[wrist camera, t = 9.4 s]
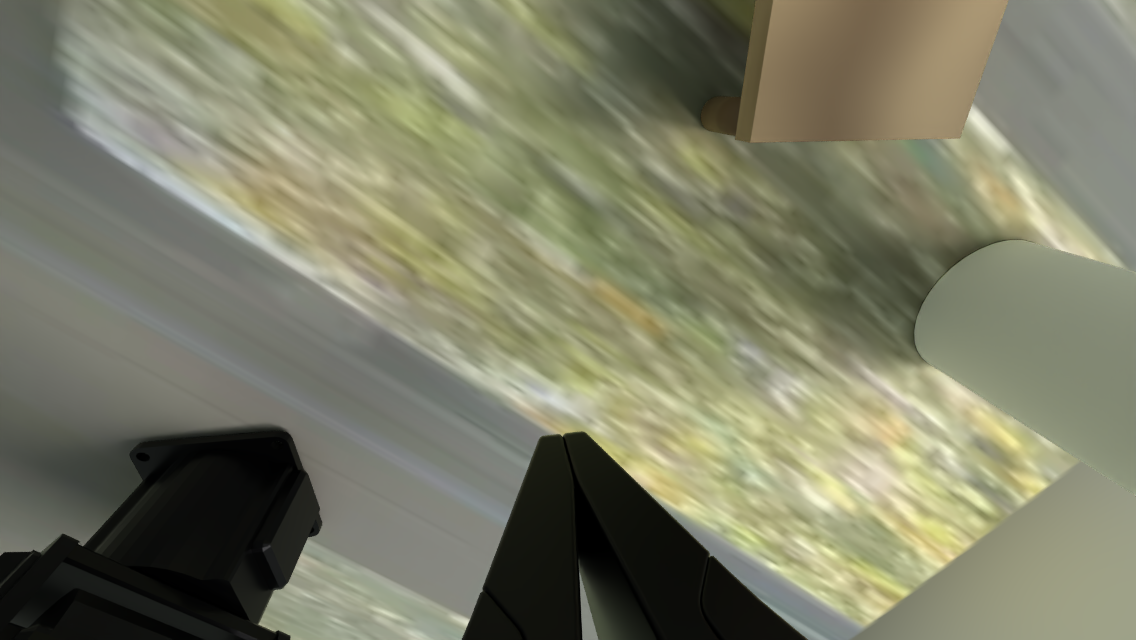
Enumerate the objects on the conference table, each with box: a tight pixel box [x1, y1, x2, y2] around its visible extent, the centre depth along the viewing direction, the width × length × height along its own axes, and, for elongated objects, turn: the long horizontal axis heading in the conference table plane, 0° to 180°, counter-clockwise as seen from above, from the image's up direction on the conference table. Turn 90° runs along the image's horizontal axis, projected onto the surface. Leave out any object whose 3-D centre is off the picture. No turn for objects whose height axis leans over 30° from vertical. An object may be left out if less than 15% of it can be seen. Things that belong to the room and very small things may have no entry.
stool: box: [701, 0, 1008, 143], centre depth 14 cm, size 7×7×4 cm
